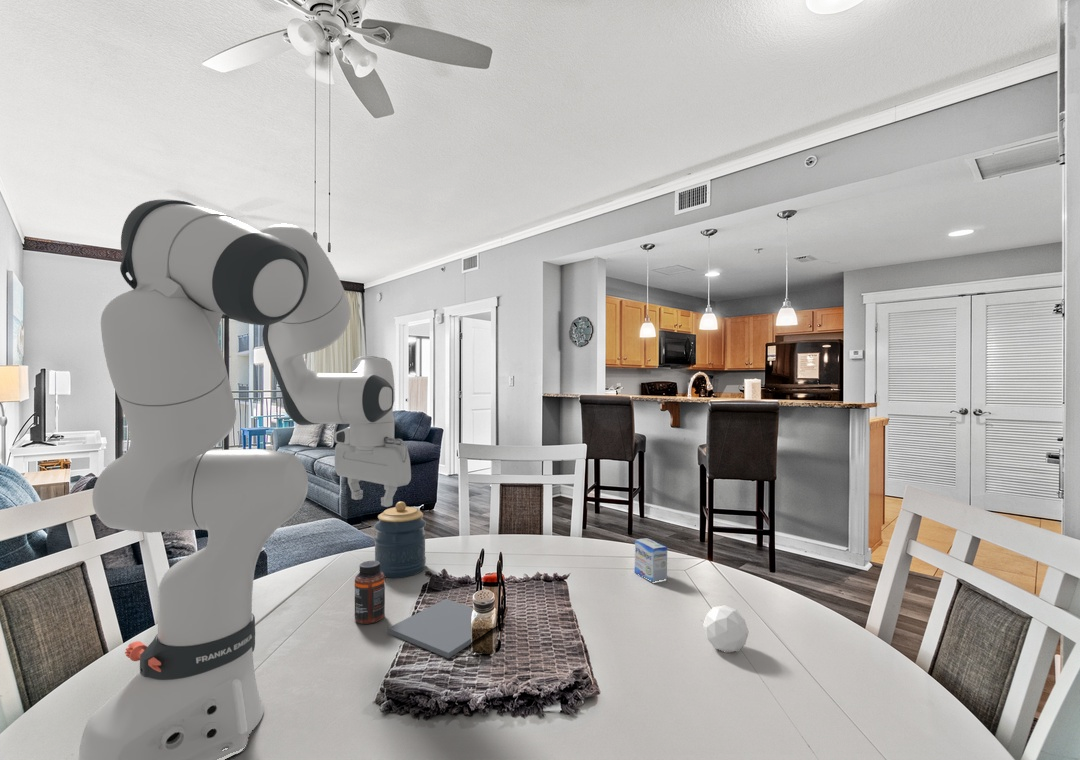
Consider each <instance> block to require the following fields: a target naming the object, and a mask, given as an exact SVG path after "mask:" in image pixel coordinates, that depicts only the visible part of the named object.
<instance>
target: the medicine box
mask: <svg viewBox="0 0 1080 760" xmlns="http://www.w3.org/2000/svg"><path fill="white" fill-rule="evenodd" d="M633 573H637V574H639V575H641V576H643V577H645V578H647V579H649V580H651V581H652V582H655V581H659V580H664V579H667V580H668V546H665V545H663V544H661V543H658V542H657V541H654V540H652V539H650V538H647V537H646V538H639V539H635V541H634V572H633ZM637 574H636V575H637ZM639 575H638V576H639ZM641 576H640V577H641Z"/></svg>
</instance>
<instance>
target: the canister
mask: <svg viewBox="0 0 1080 760" xmlns="http://www.w3.org/2000/svg"><path fill="white" fill-rule="evenodd" d="M423 515H424V514H423V512H422V511H421V510H419V509H417V508H416V507H414V506H413V507H412V506H407V504H406V503H405V502H404V501H398V502H396V504H395V506H394V507H390V508H387V509H385V510H384V511H383V512H381V513H380V514H378V515H377V518H378V520H379V521H377V522H376V523H375V524H374V529H375V530H376V532H375V533H376V535H375V537H374V561H378V562H380V571H381V572H383V573H384V576H385V578H388V579H389V578H390V579H391V578H392V579H398V578H408V577H410V576H411V577H412V576H415V575H417V574H419V573H421V572H422V571H423V570H424V569H425V565H426V562H427V561H426V559H427V558H426V536H427V534H426V533H425V526H426V525H427V522H426V520H425V519H423V518H422V517H423Z"/></svg>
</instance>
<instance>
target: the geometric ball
mask: <svg viewBox="0 0 1080 760" xmlns="http://www.w3.org/2000/svg"><path fill="white" fill-rule="evenodd" d="M702 628H703V631H704V633H705V636H706V640H708V642H709V643H710V644H711V646H712V648H714V649H716V650H718V649H719V650H718V651H720V650H721V651H720V652H723V651H725V652H729V653H733V652H734V651H736V652H739V651H740V650H741V649H743V647H744V646H745V645H746V643H747V640H748V637H749V628H748V625H747V623H746V619H745V618H744V616H742V614H741V613H740V612H739V611H738V609H735V608H733V607H730V606H728V605H726V604H724V605H723V604H722V605H717V606H713V607H712V608H711V609H710V610H709V611H708V612H707V613H706V614H705V618H704V622H703V624H702ZM725 652H724V653H725ZM734 653H735V652H734Z"/></svg>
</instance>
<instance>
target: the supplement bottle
mask: <svg viewBox="0 0 1080 760" xmlns="http://www.w3.org/2000/svg"><path fill="white" fill-rule="evenodd" d="M358 570H359V572H358V573H357V575H356V576H355V578H354V621H355V622H357V624H361V625H369V624H374V623H377V622H379V621H381V620H382V619H383V618H384V617H385V614H386V613H385V612H386V607H385V606H386V605H385V604H386V603H385V602H386V599H385V598H386V596H385V594H386V592H385V591H386V588H385V584H386V581H385V579H386V577H385V576H384V573H383V572H381V571H380V562H378V561H375V560H366V561H364V562H362V563H360V564H359V569H358Z"/></svg>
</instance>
